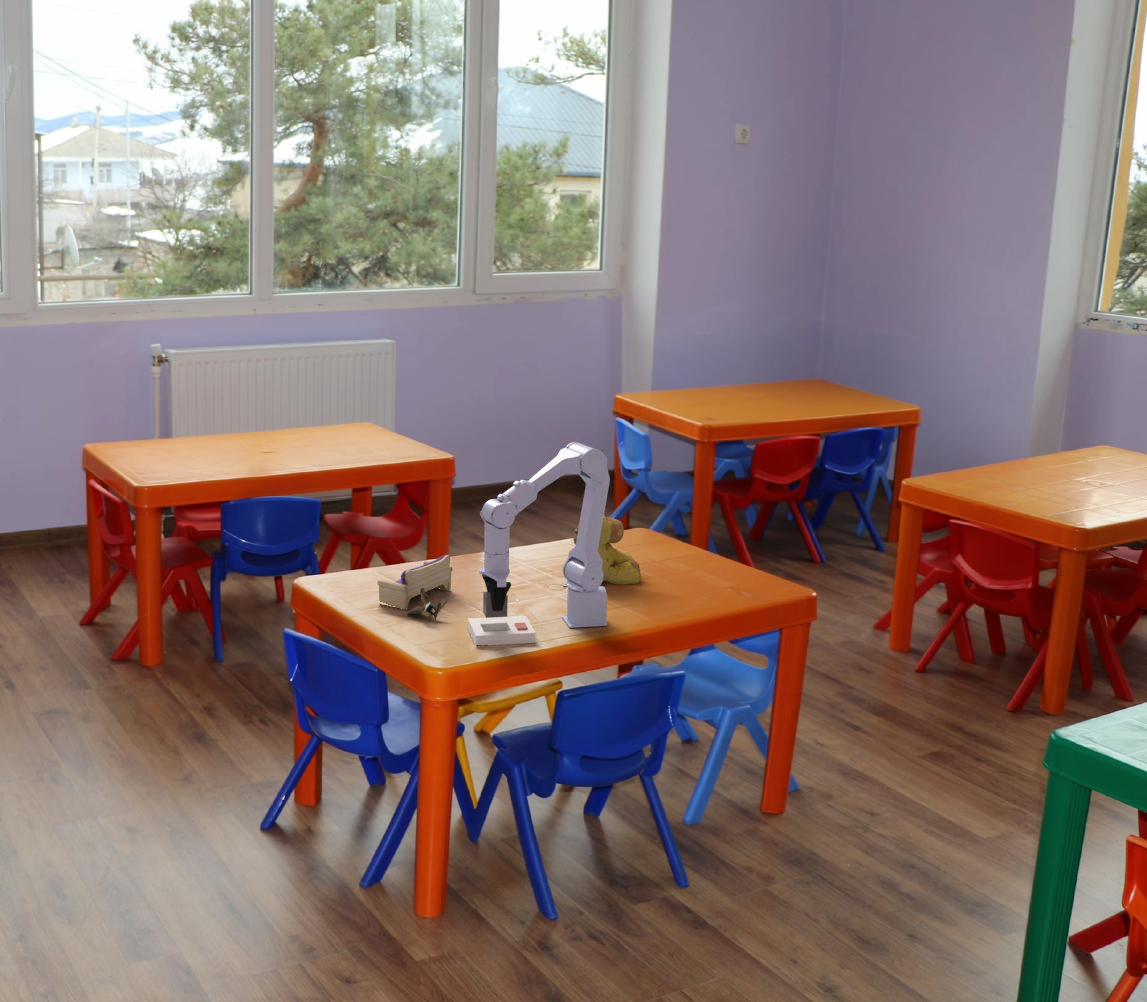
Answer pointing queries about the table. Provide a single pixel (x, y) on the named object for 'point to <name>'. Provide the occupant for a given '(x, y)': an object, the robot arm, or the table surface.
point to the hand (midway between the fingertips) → (495, 607)
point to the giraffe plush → (614, 555)
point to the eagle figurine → (427, 606)
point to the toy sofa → (416, 582)
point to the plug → (489, 610)
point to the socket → (501, 630)
